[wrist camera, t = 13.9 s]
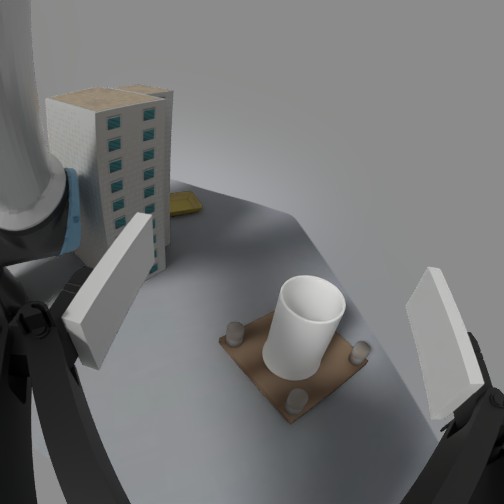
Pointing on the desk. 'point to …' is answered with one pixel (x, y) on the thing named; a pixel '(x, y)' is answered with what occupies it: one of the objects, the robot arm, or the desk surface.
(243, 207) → the desk surface
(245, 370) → the board with corner pegs
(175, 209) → the yellow square slab
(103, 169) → the building model
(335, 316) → the mug
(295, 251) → the desk surface
